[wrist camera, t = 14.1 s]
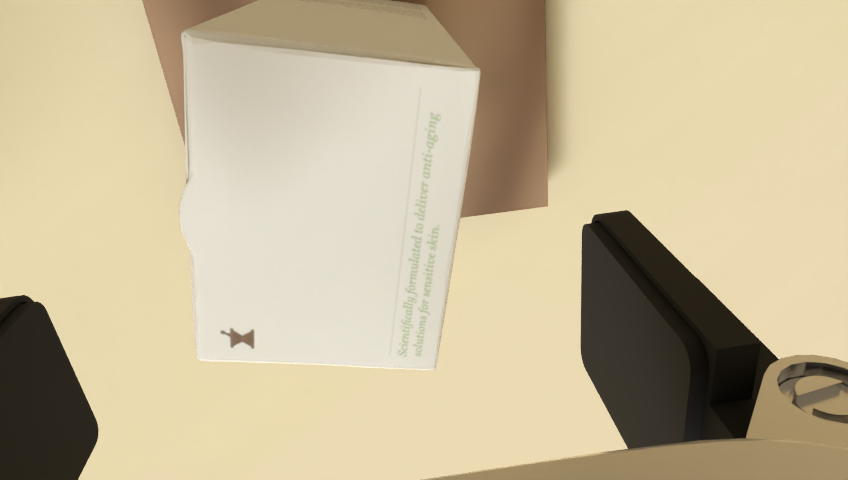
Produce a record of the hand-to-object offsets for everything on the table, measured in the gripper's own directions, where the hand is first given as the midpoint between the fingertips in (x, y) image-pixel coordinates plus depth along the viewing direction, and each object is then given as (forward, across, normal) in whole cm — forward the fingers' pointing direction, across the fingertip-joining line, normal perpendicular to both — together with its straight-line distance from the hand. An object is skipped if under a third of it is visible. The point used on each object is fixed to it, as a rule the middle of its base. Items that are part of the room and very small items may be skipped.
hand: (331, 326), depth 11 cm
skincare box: (+19, 0, 0) cm, 19 cm away
